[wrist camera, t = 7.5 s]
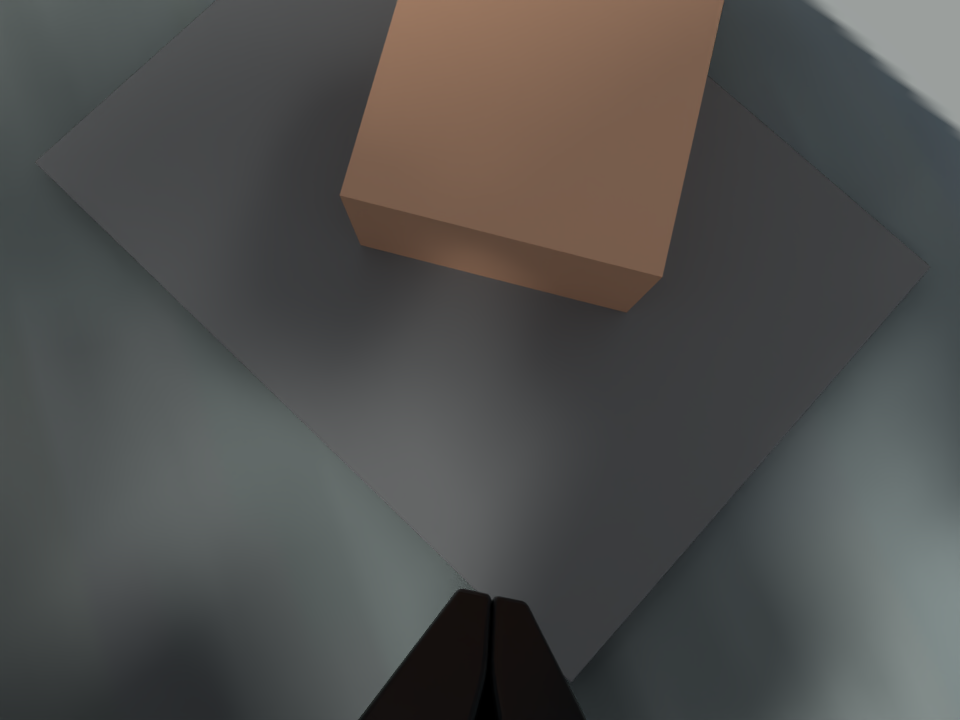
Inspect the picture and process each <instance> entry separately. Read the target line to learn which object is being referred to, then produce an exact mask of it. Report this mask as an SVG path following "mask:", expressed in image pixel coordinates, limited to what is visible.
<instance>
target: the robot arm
mask: <svg viewBox="0 0 960 720" xmlns="http://www.w3.org/2000/svg"><path fill="white" fill-rule="evenodd" d="M358 720H586V718H585V716H584V714H583V712H582V710H581V708H580V706H579V704H578V702H577V700H576V698H575V696H574V694H573V692H572V690H571V688H570V686H569V684H568V682H567V681H566V679H565V677H564V675H563V673H562V671H561V669H560V667H559V665H558V663H557V661H556V659H555V657H554V655H553V653H552V651H551V649H550V647H549V645H548V643H547V641H546V639H545V637H544V635H543V633H542V631H541V629H540V627H539V625H538V623H537V622H536V620H535V618H534V616H533V614H532V612H531V610H530V608H529V606H528V605H527V603H526V602H524V601H521V600H516V599H511V598H506V597H502V596H496V597H494V598H493V599H492V600H491V597H490V595H489V594H486V593H482V592H477V591H472V590H467V589H459V590H457V591H456V592H455V593H454V595H453V596H452V597H451V599H450V600H449V601H448V603H447V604H446V605H445V607H444V608H443V609H442V611H441V612H440V613H439V614H438V616H437V617H436V618H435V620H434V621H433V622H432V624H431V625H430V626H429V628H428V629H427V630H426V632H425V633H424V634H423V635H422V637H421V638H420V639H419V641H418V642H417V643H416V645H415V646H414V647H413V649H412V650H411V651H410V652H409V654H408V655H407V656H406V658H405V659H404V660H403V662H402V663H401V664H400V666H399V667H398V668H397V670H396V671H395V672H394V673H393V675H392V676H391V677H390V679H389V680H388V681H387V683H386V684H385V685H384V687H383V688H382V689H381V691H380V692H379V693H378V694H377V696H376V697H375V698H374V700H373V701H372V702H371V704H370V705H369V706H368V708H367V709H366V710H365V712H364V713H363V714H362V715H361V717H360V718H359V719H358Z"/></svg>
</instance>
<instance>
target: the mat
mask: <svg viewBox="0 0 960 720" xmlns="http://www.w3.org/2000/svg"><path fill="white" fill-rule="evenodd" d="M396 4H397V0H216V1H214V2H213V3H212V4H211V5H210V6H209V7H208V8H207V9H206V10H204V11H203V12H202V13H201V14H200V15H199V16H198V17H197V18H195V19H194V20H193V21H192V22H191V23H190V24H189V25H188V26H186V27H185V28H184V29H183V30H182V31H181V32H180V33H179V34H178V35H176V36H175V37H174V38H173V39H172V40H171V41H170V42H169V43H167V44H166V45H165V46H164V47H163V48H162V49H161V50H160V51H158V52H157V53H156V54H155V55H154V56H153V57H152V58H151V59H150V60H148V61H147V62H146V63H145V64H144V65H143V66H142V67H141V68H139V69H138V70H137V71H136V72H135V73H134V74H133V75H132V76H130V77H129V78H128V79H127V80H126V81H125V82H124V83H123V84H122V85H120V86H119V87H118V88H117V89H116V90H115V91H114V92H113V93H111V94H110V95H109V96H108V97H107V98H106V99H105V100H104V101H102V102H101V103H100V104H99V105H98V106H97V107H96V108H95V109H93V110H92V111H91V112H90V113H89V114H88V115H87V116H86V117H85V118H83V119H82V120H81V121H80V122H79V123H78V124H77V125H76V126H74V127H73V128H72V129H71V130H70V131H69V132H68V133H67V134H65V135H64V136H63V137H62V138H61V139H60V140H59V141H58V142H57V143H55V144H54V145H53V146H52V147H51V148H50V149H49V150H48V151H46V152H45V153H44V154H43V155H42V156H41V157H40V158H39V159H37V160H36V161H35V163H36V164H37V165H38V166H39V167H40V168H41V169H42V170H43V171H44V172H45V173H46V174H47V175H48V176H49V177H50V178H52V179H53V180H54V181H55V182H56V183H57V184H58V185H59V186H60V187H61V188H62V189H63V190H64V191H65V192H66V193H67V194H68V195H69V196H70V197H71V198H72V199H73V200H74V201H75V202H76V203H77V204H78V205H79V206H80V207H81V208H82V209H83V210H85V211H86V212H87V213H88V214H89V215H90V216H91V217H92V218H93V219H94V220H95V221H96V222H97V223H98V224H99V225H100V226H101V227H102V228H103V229H104V230H105V231H106V232H107V233H108V234H109V235H110V236H111V237H112V238H113V239H114V240H115V241H116V242H117V243H119V244H120V245H121V246H122V247H123V248H124V249H125V250H126V251H127V252H128V253H129V254H130V255H131V256H132V257H133V258H134V259H135V260H136V261H137V262H138V263H139V264H140V265H141V266H142V267H143V268H144V269H145V270H146V271H147V272H148V273H149V274H150V275H151V276H153V277H154V278H155V279H156V280H157V281H158V282H159V283H160V284H161V285H162V286H163V287H164V288H165V289H166V290H167V291H168V292H169V293H170V294H171V295H172V296H173V297H174V298H175V299H176V300H177V301H178V302H179V303H180V304H181V305H182V306H183V307H184V308H186V309H187V310H188V311H189V312H190V313H191V314H192V315H193V316H194V317H195V318H196V319H197V320H198V321H199V322H200V323H201V324H202V325H203V326H204V327H205V328H206V329H207V330H208V331H209V332H210V333H211V334H212V335H213V336H214V337H215V338H216V339H217V340H218V341H220V342H221V343H222V344H223V345H224V346H225V347H226V348H227V349H228V350H229V351H230V352H231V353H232V354H233V355H234V356H235V357H236V358H237V359H238V360H239V361H240V362H241V363H242V364H243V365H244V366H245V367H246V368H247V369H248V370H249V371H250V372H251V373H252V374H254V375H255V376H256V377H257V378H258V379H259V380H260V381H261V382H262V383H263V384H264V385H265V386H266V387H267V388H268V389H269V390H270V391H271V392H272V393H273V394H274V395H275V396H276V397H277V398H278V399H279V400H280V401H281V402H282V403H283V404H284V405H285V406H286V407H288V408H289V409H290V410H291V411H292V412H293V413H294V414H295V415H296V416H297V417H298V418H299V419H300V420H301V421H302V422H303V423H304V424H305V425H306V426H307V427H308V428H309V429H310V430H311V431H312V432H313V433H314V434H315V435H316V436H317V437H318V438H319V439H321V440H322V441H323V442H324V443H325V444H326V445H327V446H328V447H329V448H330V449H331V450H332V451H333V452H334V453H335V454H336V455H337V456H338V457H339V458H340V459H341V460H342V461H343V462H344V463H345V464H346V465H347V466H348V467H349V468H350V469H351V470H352V471H353V472H355V473H356V474H357V475H358V476H359V477H360V478H361V479H362V480H363V481H364V482H365V483H366V484H367V485H368V486H369V487H370V488H371V489H372V490H373V491H374V492H375V493H376V494H377V495H378V496H379V497H380V498H381V499H382V500H383V501H384V502H385V503H386V504H387V505H389V506H390V507H391V508H392V509H393V510H394V511H395V512H396V513H397V514H398V515H399V516H400V517H401V518H402V519H403V520H404V521H405V522H406V523H407V524H408V525H409V526H410V527H411V528H412V529H413V530H414V531H415V532H416V533H417V534H418V535H419V536H420V537H422V538H423V539H424V540H425V541H426V542H427V543H428V544H429V545H430V546H431V547H432V548H433V549H434V550H435V551H436V552H437V553H438V554H439V555H440V556H441V557H442V558H443V559H444V560H445V561H446V562H447V563H448V564H449V565H450V566H451V567H452V568H453V569H454V570H456V571H457V572H458V573H459V574H460V575H461V576H462V577H463V578H464V579H465V580H466V581H467V582H468V583H469V584H470V585H471V586H472V587H473V588H474V589H475V590H476V591H477V592H482V593H486V594H489V595H490V597H491V600H492V599H493V598H494V597H496V596H502V597H506V598H511V599H516V600H521V601H524V602H526V603H527V605H528V606H529V608H530V610H531V612H532V614H533V616H534V618H535V620H536V622H537V623H538V625H539V627H540V629H541V631H542V633H543V635H544V637H545V639H546V641H547V643H548V645H549V647H550V649H551V651H552V653H553V655H554V657H555V659H556V661H557V663H558V665H559V667H560V669H561V671H562V673H563V675H564V676H565V677H566V678H567V679H568V680H569V681H570V682H572V681H573V680H574V679H575V678H576V676H577V675H578V674H579V673H580V672H581V671H582V669H583V668H584V667H585V666H586V665H587V664H588V662H589V661H590V660H591V659H592V658H593V657H594V656H595V654H596V653H597V652H598V651H599V650H600V649H601V647H602V646H603V645H604V644H605V643H606V642H607V641H608V639H609V638H610V637H611V636H612V635H613V634H614V632H615V631H616V630H617V629H618V628H619V627H620V626H621V624H622V623H623V622H624V621H625V620H626V619H627V617H628V616H629V615H630V614H631V613H632V612H633V610H634V609H635V608H636V607H637V606H638V605H639V604H640V602H641V601H642V600H643V599H644V598H645V597H646V595H647V594H648V593H649V592H650V591H651V590H652V589H653V587H654V586H655V585H656V584H657V583H658V582H659V580H660V579H661V578H662V577H663V576H664V575H665V573H666V572H667V571H668V570H669V569H670V568H671V567H672V565H673V564H674V563H675V562H676V561H677V560H678V558H679V557H680V556H681V555H682V554H683V553H684V552H685V550H686V549H687V548H688V547H689V546H690V545H691V543H692V542H693V541H694V540H695V539H696V538H697V537H698V535H699V534H700V533H701V532H702V531H703V530H704V528H705V527H706V526H707V525H708V524H709V523H710V521H711V520H712V519H713V518H714V517H715V516H716V515H717V513H718V512H719V511H720V510H721V509H722V508H723V506H724V505H725V504H726V503H727V502H728V501H729V500H730V498H731V497H732V496H733V495H734V494H735V493H736V491H737V490H738V489H739V488H740V487H741V486H742V485H743V483H744V482H745V481H746V480H747V479H748V478H749V476H750V475H751V474H752V473H753V472H754V471H755V469H756V468H757V467H758V466H759V465H760V464H761V463H762V461H763V460H764V459H765V458H766V457H767V456H768V454H769V453H770V452H771V451H772V450H773V449H774V448H775V446H776V445H777V444H778V443H779V442H780V441H781V439H782V438H783V437H784V436H785V435H786V434H787V433H788V431H789V430H790V429H791V428H792V427H793V426H794V424H795V423H796V422H797V421H798V420H799V419H800V417H801V416H802V415H803V414H804V413H805V412H806V411H807V409H808V408H809V407H810V406H811V405H812V404H813V402H814V401H815V400H816V399H817V398H818V397H819V396H820V394H821V393H822V392H823V391H824V390H825V389H826V387H827V386H828V385H829V384H830V383H831V382H832V380H833V379H834V378H835V377H836V376H837V375H838V374H839V372H840V371H841V370H842V369H843V368H844V367H845V365H846V364H847V363H848V362H849V361H850V360H851V359H852V357H853V356H854V355H855V354H856V353H857V352H858V350H859V349H860V348H861V347H862V346H863V345H864V344H865V342H866V341H867V340H868V339H869V338H870V337H871V335H872V334H873V333H874V332H875V331H876V330H877V328H878V327H879V326H880V325H881V324H882V323H883V322H884V320H885V319H886V318H887V317H888V316H889V315H890V313H891V312H892V311H893V310H894V309H895V308H896V307H897V305H898V304H899V303H900V302H901V301H902V300H903V298H904V297H905V296H906V295H907V294H908V293H909V292H910V290H911V289H912V288H913V287H914V286H915V285H916V283H917V282H918V281H919V280H920V279H921V278H922V276H923V275H924V274H925V273H926V272H927V271H928V270H929V268H930V266H929V265H928V264H927V263H926V262H925V261H923V260H922V259H921V258H920V257H919V256H918V255H916V254H915V253H914V252H913V251H912V250H911V249H909V248H908V247H907V246H906V245H905V244H904V243H902V242H901V241H900V240H899V239H898V238H897V237H895V236H894V235H893V234H892V233H891V232H890V231H888V230H887V229H886V228H885V227H884V226H883V225H881V224H880V223H879V222H878V221H877V220H876V219H874V218H873V217H872V216H871V215H870V214H869V213H867V212H866V211H865V210H864V209H863V208H862V207H860V206H859V205H858V204H857V203H856V202H855V201H853V200H852V199H851V198H850V197H849V196H848V195H846V194H845V193H844V192H843V191H842V190H841V189H839V188H838V187H837V186H836V185H835V184H834V183H832V182H831V181H830V180H829V179H828V178H827V177H825V176H824V175H823V174H822V173H821V172H820V171H818V170H817V169H816V168H815V167H814V166H813V165H811V164H810V163H809V162H808V161H807V160H806V159H804V158H803V157H802V156H801V155H800V154H799V153H797V152H796V151H795V150H794V149H793V148H792V147H790V146H789V145H788V144H787V143H786V142H785V141H784V140H782V139H781V138H780V137H779V136H778V135H777V134H775V133H774V132H773V131H772V130H771V129H770V128H768V127H767V126H766V125H765V124H764V123H763V122H761V121H760V120H759V119H758V118H757V117H756V116H754V115H753V114H752V113H751V112H750V111H749V110H747V109H746V108H745V107H744V106H743V105H742V104H740V103H739V102H738V101H737V100H736V99H735V98H733V97H732V96H731V95H730V94H729V93H728V92H726V91H725V90H724V89H723V88H722V87H721V86H719V85H718V84H717V83H716V82H715V81H714V80H712V79H711V78H710V77H709V76H708V75H707V79H706V84H705V88H704V93H703V97H702V102H701V106H700V110H699V115H698V119H697V124H696V128H695V133H694V137H693V142H692V146H691V151H690V155H689V160H688V164H687V169H686V173H685V178H684V182H683V187H682V191H681V196H680V200H679V205H678V209H677V214H676V218H675V223H674V227H673V232H672V236H671V241H670V245H669V250H668V254H667V259H666V263H665V268H664V272H663V277H662V278H661V279H660V280H659V281H658V282H657V283H656V284H655V285H654V286H653V287H652V288H651V289H650V290H649V291H648V292H647V293H646V294H645V295H644V296H643V297H642V298H641V299H640V300H639V301H638V302H637V303H636V304H635V305H634V306H633V307H632V308H631V309H630V310H629V311H628V312H627V313H626V312H622V311H618V310H614V309H610V308H606V307H602V306H598V305H594V304H590V303H587V302H583V301H579V300H575V299H571V298H567V297H563V296H559V295H555V294H551V293H547V292H543V291H539V290H535V289H531V288H527V287H524V286H520V285H516V284H512V283H508V282H504V281H500V280H496V279H492V278H488V277H484V276H480V275H476V274H472V273H468V272H464V271H461V270H457V269H453V268H449V267H445V266H441V265H437V264H433V263H429V262H425V261H421V260H417V259H413V258H409V257H405V256H401V255H398V254H394V253H390V252H386V251H382V250H378V249H374V248H370V247H366V246H362V245H360V243H359V240H358V238H357V235H356V233H355V231H354V228H353V226H352V224H351V221H350V219H349V216H348V214H347V212H346V209H345V207H344V205H343V202H342V200H341V197H340V192H341V189H342V186H343V182H344V179H345V175H346V172H347V169H348V165H349V162H350V159H351V155H352V152H353V148H354V145H355V142H356V138H357V135H358V132H359V128H360V125H361V122H362V118H363V115H364V111H365V108H366V105H367V101H368V98H369V95H370V91H371V88H372V84H373V81H374V78H375V74H376V71H377V68H378V64H379V61H380V58H381V54H382V51H383V47H384V44H385V41H386V37H387V34H388V31H389V27H390V24H391V20H392V17H393V14H394V10H395V7H396Z"/></svg>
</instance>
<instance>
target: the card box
mask: <svg viewBox="0 0 960 720" xmlns="http://www.w3.org/2000/svg"><path fill="white" fill-rule="evenodd" d="M723 3H724V0H397V4H396V7H395V10H394V14H393V17H392V20H391V24H390V27H389V31H388V34H387V37H386V41H385V44H384V47H383V51H382V54H381V58H380V61H379V64H378V68H377V71H376V74H375V78H374V81H373V84H372V88H371V91H370V95H369V98H368V101H367V105H366V108H365V111H364V115H363V118H362V122H361V125H360V128H359V132H358V135H357V138H356V142H355V145H354V148H353V152H352V155H351V159H350V162H349V165H348V169H347V172H346V175H345V179H344V182H343V186H342V189H341V192H340V197H341V200H342V202H343V205H344V207H345V209H346V212H347V214H348V216H349V219H350V221H351V224H352V226H353V228H354V231H355V233H356V235H357V238H358V240H359V243H360V245H362V246H366V247H370V248H374V249H378V250H382V251H386V252H390V253H394V254H398V255H401V256H405V257H409V258H413V259H417V260H421V261H425V262H429V263H433V264H437V265H441V266H445V267H449V268H453V269H457V270H461V271H464V272H468V273H472V274H476V275H480V276H484V277H488V278H492V279H496V280H500V281H504V282H508V283H512V284H516V285H520V286H524V287H527V288H531V289H535V290H539V291H543V292H547V293H551V294H555V295H559V296H563V297H567V298H571V299H575V300H579V301H583V302H587V303H590V304H594V305H598V306H602V307H606V308H610V309H614V310H618V311H622V312H626V313H627V312H628V311H629V310H630V309H631V308H632V307H633V306H634V305H635V304H636V303H637V302H638V301H639V300H640V299H641V298H642V297H643V296H644V295H645V294H646V293H647V292H648V291H649V290H650V289H651V288H652V287H653V286H654V285H655V284H656V283H657V282H658V281H659V280H660V279H661V278H662V277H663V272H664V268H665V263H666V259H667V254H668V250H669V245H670V241H671V236H672V232H673V227H674V223H675V218H676V214H677V209H678V205H679V200H680V196H681V191H682V187H683V182H684V178H685V173H686V169H687V164H688V160H689V155H690V151H691V146H692V142H693V137H694V133H695V128H696V124H697V119H698V115H699V110H700V106H701V102H702V97H703V93H704V88H705V84H706V79H707V75H708V70H709V66H710V61H711V57H712V52H713V48H714V43H715V39H716V34H717V30H718V25H719V21H720V16H721V12H722V7H723Z"/></svg>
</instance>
